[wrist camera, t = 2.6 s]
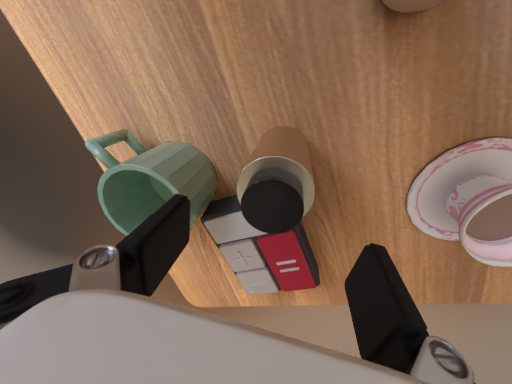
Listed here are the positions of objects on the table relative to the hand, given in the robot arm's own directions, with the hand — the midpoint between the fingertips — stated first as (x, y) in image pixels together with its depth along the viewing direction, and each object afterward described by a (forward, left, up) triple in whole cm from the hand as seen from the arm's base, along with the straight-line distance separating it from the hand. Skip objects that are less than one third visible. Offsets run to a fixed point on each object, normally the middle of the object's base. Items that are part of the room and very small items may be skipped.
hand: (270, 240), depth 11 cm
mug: (-11, -9, -15) cm, 20 cm away
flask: (0, 0, -15) cm, 15 cm away
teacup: (+19, +7, -15) cm, 25 cm away
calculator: (+5, -11, -15) cm, 19 cm away
